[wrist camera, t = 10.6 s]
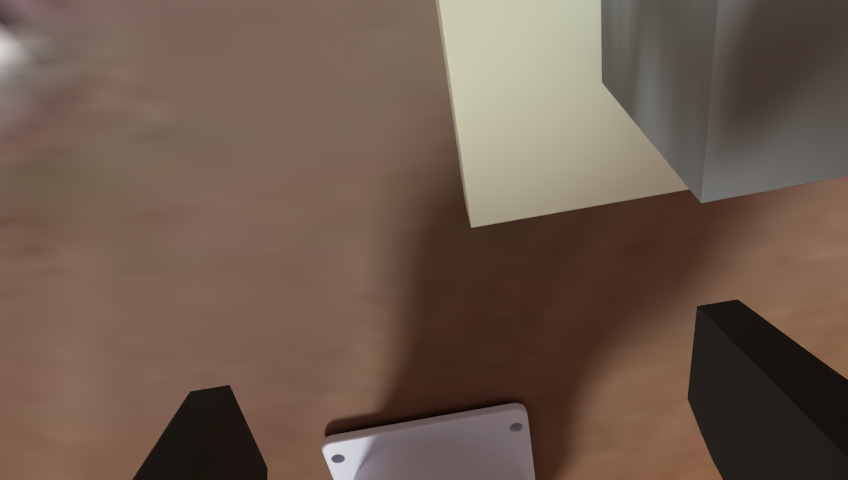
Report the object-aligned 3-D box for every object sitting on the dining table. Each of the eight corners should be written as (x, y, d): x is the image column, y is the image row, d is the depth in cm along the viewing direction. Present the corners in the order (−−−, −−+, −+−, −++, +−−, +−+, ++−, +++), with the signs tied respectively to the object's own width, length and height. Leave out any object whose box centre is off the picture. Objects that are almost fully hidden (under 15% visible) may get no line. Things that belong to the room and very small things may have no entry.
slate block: (775, 49, 17) (944, 158, 12) (601, 82, 17) (701, 203, 12) (803, -150, 15) (1029, -113, 10) (599, -110, 15) (722, -54, 10)
